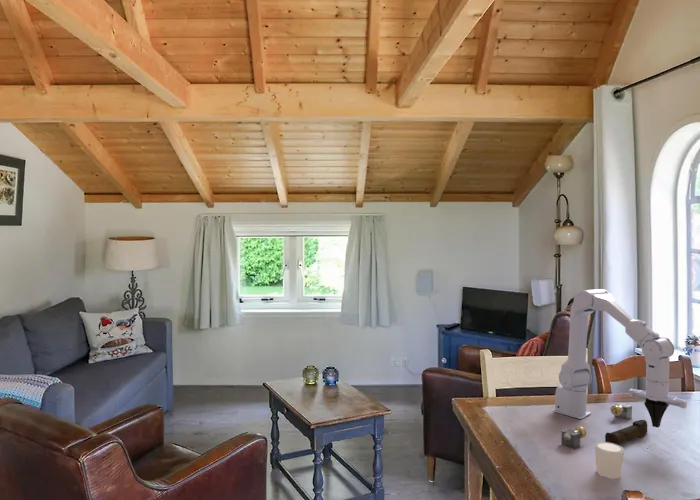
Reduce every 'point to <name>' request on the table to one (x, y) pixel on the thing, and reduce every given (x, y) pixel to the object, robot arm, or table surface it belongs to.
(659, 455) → the table surface
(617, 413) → the grey block with knob
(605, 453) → the cream cylinder
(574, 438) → the grey metal fitting
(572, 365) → the robot arm
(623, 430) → the hand tool
